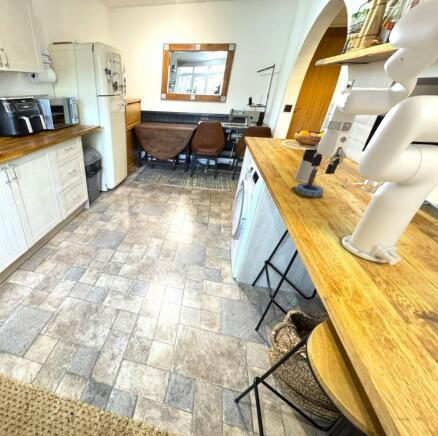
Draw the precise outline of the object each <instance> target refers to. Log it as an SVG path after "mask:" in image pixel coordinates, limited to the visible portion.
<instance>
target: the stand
mask: <svg viewBox="0 0 438 436" xmlns="http://www.w3.org/2000/svg"><path fill="white" fill-rule="evenodd" d="M318 171H319V169H318V168H317V169H312V172H311V174H310V177H309V180H308V182H307V183H306V184H307V185H306V188H305V189H308V190H310V189H311V186H312V184H313V185H314V181H315V179H316V177H317V173H318ZM315 176H316V177H315ZM296 187H297V186H292V187H291V191H293V192H294V193H295V194H296V195H298V196H299V197H300V198H302V199H303V198H304V199H305V198H306V199H308V198H309V199H312V198H313V199H322V198H323V196H324V194H323V193H322V195H321V196H308V195H304V194H301V193H299V192H298V191H296Z"/></svg>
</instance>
